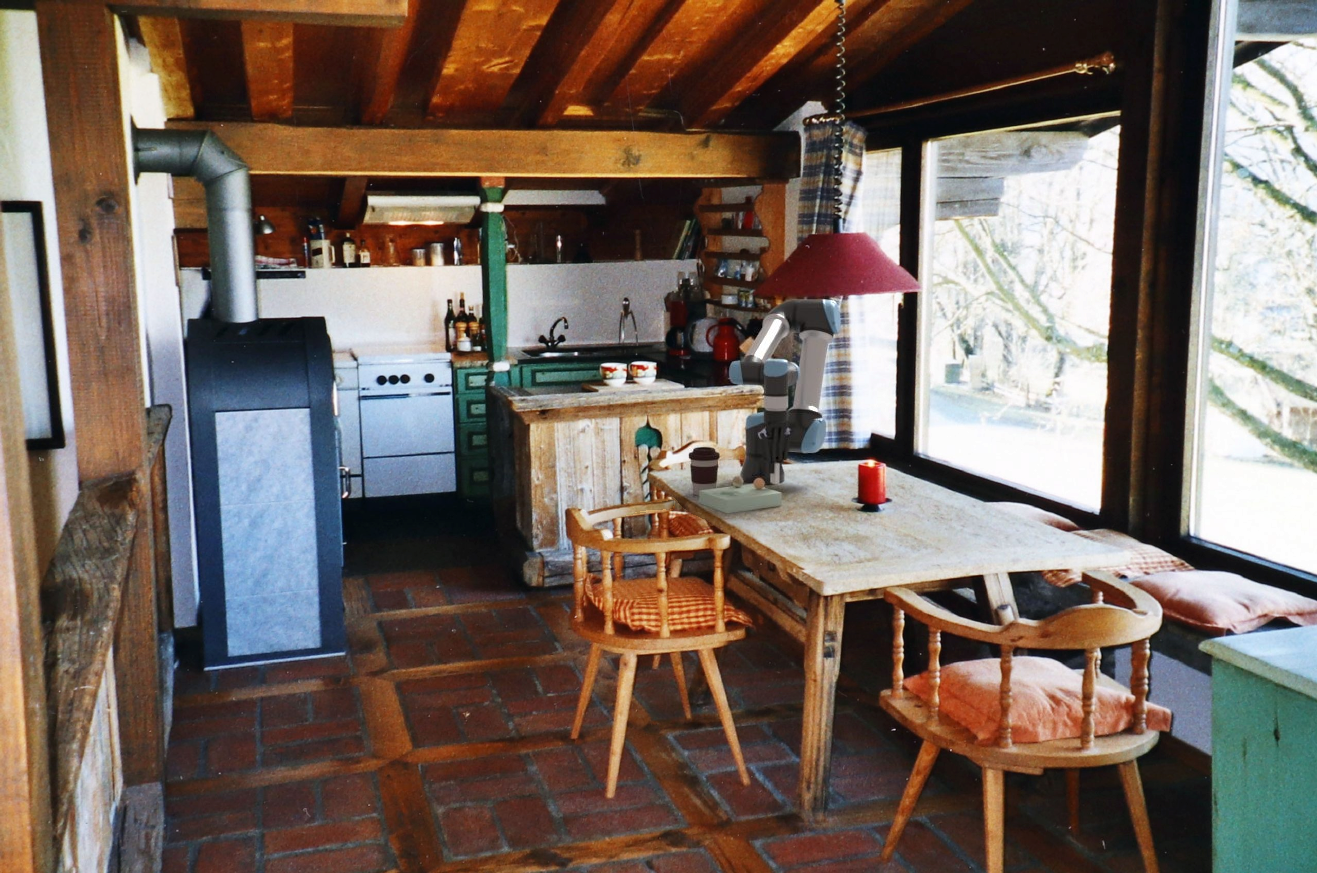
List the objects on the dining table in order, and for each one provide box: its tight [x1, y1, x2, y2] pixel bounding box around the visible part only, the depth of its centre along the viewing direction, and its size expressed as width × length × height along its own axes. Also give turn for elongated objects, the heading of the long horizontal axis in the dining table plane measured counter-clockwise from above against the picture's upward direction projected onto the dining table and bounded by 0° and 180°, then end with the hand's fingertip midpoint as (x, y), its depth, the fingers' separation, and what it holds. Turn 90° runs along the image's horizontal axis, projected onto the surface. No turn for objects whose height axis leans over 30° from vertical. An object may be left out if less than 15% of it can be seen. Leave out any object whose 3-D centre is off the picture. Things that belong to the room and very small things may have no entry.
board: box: [698, 483, 783, 514], centre depth 354 cm, size 20×16×4 cm
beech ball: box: [731, 475, 744, 487], centre depth 360 cm, size 4×4×4 cm
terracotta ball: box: [753, 478, 766, 489], centre depth 357 cm, size 4×4×4 cm
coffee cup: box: [688, 446, 720, 497], centre depth 368 cm, size 10×10×15 cm
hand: (774, 483), depth 360 cm, fingers closed
